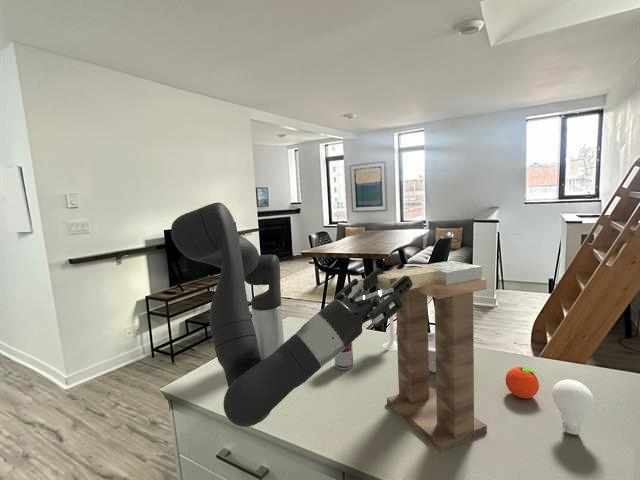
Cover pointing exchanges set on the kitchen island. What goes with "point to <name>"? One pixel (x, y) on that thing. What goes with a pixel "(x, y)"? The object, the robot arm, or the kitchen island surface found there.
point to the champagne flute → (391, 333)
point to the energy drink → (345, 358)
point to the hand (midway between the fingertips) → (394, 275)
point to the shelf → (438, 363)
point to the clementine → (522, 382)
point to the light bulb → (572, 404)
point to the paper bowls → (432, 352)
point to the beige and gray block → (434, 275)
